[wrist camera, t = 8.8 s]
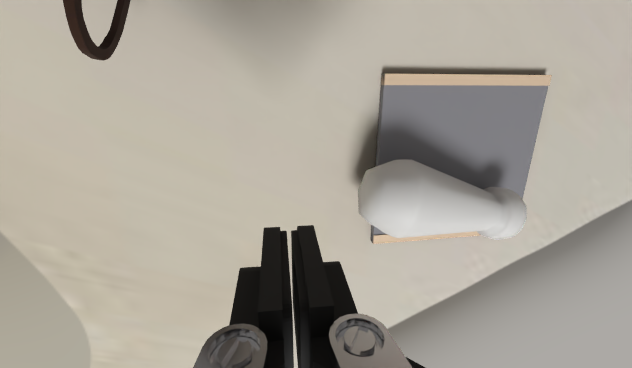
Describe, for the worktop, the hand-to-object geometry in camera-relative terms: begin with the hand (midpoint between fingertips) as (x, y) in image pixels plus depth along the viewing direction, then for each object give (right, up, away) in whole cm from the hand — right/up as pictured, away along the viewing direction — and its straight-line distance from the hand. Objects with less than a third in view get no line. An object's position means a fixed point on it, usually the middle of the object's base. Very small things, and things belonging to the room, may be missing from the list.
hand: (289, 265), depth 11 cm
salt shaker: (+5, +2, +11) cm, 12 cm away
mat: (+13, +5, +16) cm, 21 cm away
